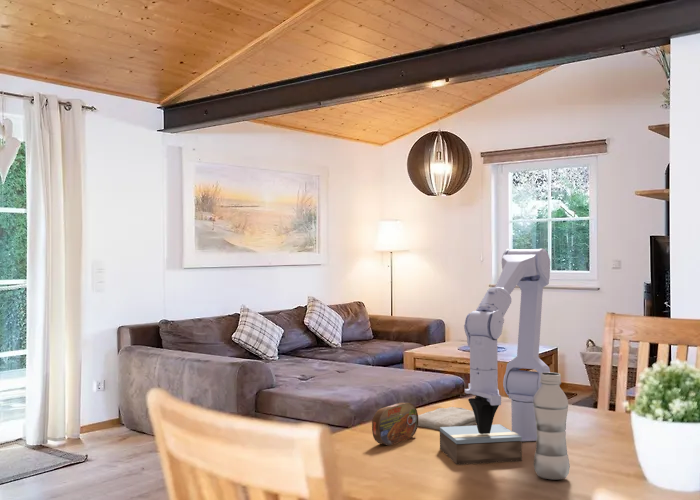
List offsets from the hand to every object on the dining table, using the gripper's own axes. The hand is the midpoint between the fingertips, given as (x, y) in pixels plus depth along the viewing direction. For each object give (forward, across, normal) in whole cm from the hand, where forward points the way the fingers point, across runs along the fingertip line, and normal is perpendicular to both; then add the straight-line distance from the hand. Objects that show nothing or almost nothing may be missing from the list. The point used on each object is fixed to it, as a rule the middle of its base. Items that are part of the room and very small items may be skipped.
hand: (484, 433), depth 153 cm
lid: (+1, -3, 0) cm, 3 cm away
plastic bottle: (+6, +15, +8) cm, 18 cm away
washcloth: (+6, -33, +3) cm, 34 cm away
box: (+5, -3, 0) cm, 6 cm away
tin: (+6, -18, -15) cm, 24 cm away
